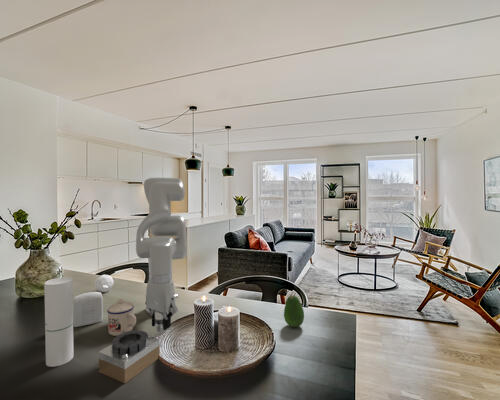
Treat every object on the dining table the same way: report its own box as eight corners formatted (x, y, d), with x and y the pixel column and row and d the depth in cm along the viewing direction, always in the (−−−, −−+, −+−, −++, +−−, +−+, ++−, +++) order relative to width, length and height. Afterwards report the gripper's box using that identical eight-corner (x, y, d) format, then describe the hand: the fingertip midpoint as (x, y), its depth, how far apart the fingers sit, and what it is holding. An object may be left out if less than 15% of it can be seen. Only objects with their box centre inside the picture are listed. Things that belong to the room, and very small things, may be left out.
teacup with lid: (102, 333, 101) (101, 302, 101) (122, 322, 109) (122, 294, 109) (125, 340, 96) (124, 308, 96) (144, 328, 104) (144, 299, 104)
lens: (161, 323, 100) (161, 305, 100) (170, 327, 98) (170, 307, 98) (151, 330, 96) (151, 310, 95) (161, 333, 94) (161, 313, 93)
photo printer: (102, 317, 114) (102, 288, 113) (103, 322, 110) (103, 291, 110) (73, 324, 108) (72, 293, 108) (73, 329, 104) (72, 297, 104)
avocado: (285, 320, 112) (285, 291, 111) (305, 323, 109) (305, 293, 109) (282, 329, 104) (282, 299, 104) (302, 333, 102) (302, 301, 101)
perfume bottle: (91, 286, 145) (92, 296, 135) (97, 270, 146) (98, 279, 136) (109, 288, 150) (111, 298, 140) (114, 272, 150) (117, 281, 140)
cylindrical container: (69, 350, 90) (67, 275, 90) (77, 358, 86) (75, 280, 85) (42, 360, 85) (41, 281, 84) (49, 369, 80) (48, 286, 80)
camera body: (135, 348, 91) (134, 325, 91) (159, 357, 86) (159, 333, 86) (98, 371, 79) (98, 345, 79) (124, 383, 75) (124, 355, 74)
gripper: (135, 276, 96) (135, 325, 97) (172, 285, 88) (172, 338, 90) (151, 269, 103) (151, 316, 104) (186, 277, 95) (186, 327, 97)
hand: (161, 325), depth 97 cm, fingers closed on lens, 4 cm apart
